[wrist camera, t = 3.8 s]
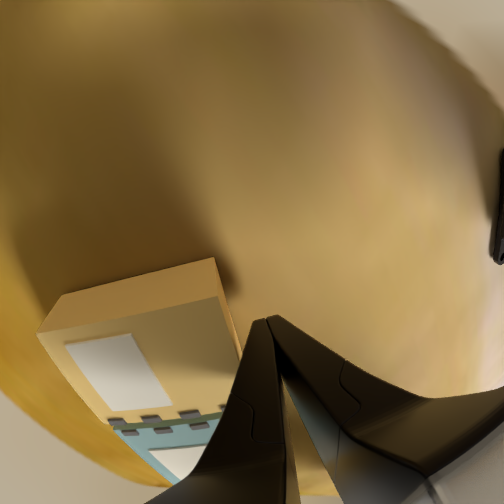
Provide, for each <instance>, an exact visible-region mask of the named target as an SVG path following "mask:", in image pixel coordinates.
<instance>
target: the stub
mask: <svg viewBox="0 0 504 504" xmlns="http://www.w3.org/2000/svg"><path fill="white" fill-rule="evenodd" d="M36 336H37V337H38V339H39V340H40V342H41V344H42V345H43V347H44V348H45V350H46V351H47V353H48V354H49V356H50V357H51V359H52V360H53V361H54V363H55V364H56V366H57V367H58V368H59V370H60V371H61V373H62V374H63V375H64V377H65V378H66V379H67V381H68V382H69V383H70V385H71V386H72V387H73V388H74V390H75V391H76V392H77V393H78V395H79V396H80V397H81V398H82V399H83V401H84V402H85V403H86V404H87V405H88V407H89V408H90V409H91V410H92V411H93V412H94V413H95V415H96V416H97V417H98V418H99V419H100V420H101V421H102V422H103V423H104V424H110V425H111V426H115V425H127V423H139V422H144V423H145V424H148V423H158V422H162V420H170V419H178V418H182V420H184V419H191V418H198V417H201V415H205V414H211V413H217V412H223V411H224V408H225V405H226V403H227V400H228V397H229V394H230V391H231V388H232V385H233V382H234V379H235V376H236V373H237V370H238V366H239V363H240V360H241V357H242V354H243V353H242V350H241V347H240V344H239V341H238V337H237V334H236V331H235V328H234V324H233V321H232V318H231V314H230V311H229V308H228V304H227V301H226V297H225V294H224V290H223V287H222V284H221V280H220V277H219V273H218V269H217V266H216V262H215V259H214V257H212V258H208V259H204V260H200V261H195V262H191V263H187V264H183V265H179V266H175V267H171V268H167V269H163V270H159V271H155V272H151V273H147V274H143V275H139V276H135V277H131V278H127V279H123V280H119V281H115V282H111V283H108V284H104V285H100V286H96V287H92V288H88V289H84V290H80V291H76V292H72V293H68V294H64V295H61V297H60V298H59V300H58V301H57V302H56V304H55V305H54V307H53V308H52V309H51V311H50V312H49V314H48V315H47V317H46V318H45V320H44V321H43V323H42V324H41V326H40V327H39V329H38V330H37V332H36Z"/></svg>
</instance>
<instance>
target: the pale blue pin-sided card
mask: <svg viewBox="0 0 504 504" xmlns="http://www.w3.org/2000/svg"><path fill="white" fill-rule="evenodd" d="M222 413H223V412H217V413H211V414H205V415H201V417H198V418H191V419H184V420H182V418H178V419H170V420H162V422H158V423H148V424H145V423H144V422H139V423H127V425H115V426H114V427H113V430H114V431H115V433H116V434H117V435H118V436H119V437H120V438H121V439H122V440H123V441H124V442H125V443H126V444H127V445H129V446H130V447H131V448H132V449H133V450H134V451H135V452H136V453H137V454H138V455H139V456H140V457H141V458H142V459H144V460H145V461H146V462H147V463H148V464H149V465H150V466H152V467H153V468H154V469H155V470H156V471H157V472H159V473H160V474H161V475H162V476H163V477H165V478H166V479H167V480H168V481H170V482H171V483H172V484H174V485H175V484H176V483H178V482H179V481H181V480H182V479H184V478H185V477H186V476H187V475H188V474H189V473H190V472H191V471H192V470H193V468H194V467H195V466H196V464H197V462H198V460H199V459H200V457H201V455H202V453H203V451H204V449H205V448H206V446H207V444H208V442H209V440H210V438H211V436H212V434H213V432H214V431H215V429H216V426H217V424H218V422H219V420H220V418H221V416H222Z"/></svg>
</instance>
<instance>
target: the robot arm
mask: <svg viewBox="0 0 504 504" xmlns="http://www.w3.org/2000/svg"><path fill="white" fill-rule="evenodd" d="M493 260H494V262H495V263H497V264H498V265H502V264H503V263H504V149H503V151H502V156H501V197H500V211H499V221H498V230H497V237H496V244H495V250H494V256H493ZM281 376H282V377H281ZM282 379H283V381H284V384H285V386H286V388H287V390H288V392H289V394H290V396H291V398H292V401H293V403H294V405H295V407H296V409H297V411H298V413H299V415H300V417H301V419H302V421H303V423H304V425H305V427H306V429H307V431H308V434H309V436H310V438H311V440H312V442H313V444H314V446H315V448H316V450H317V452H318V454H319V456H320V458H321V460H322V462H323V464H324V466H325V468H326V470H327V472H328V474H329V476H330V477H331V479H332V481H333V483H334V484H335V487H336V489H337V491H338V493H339V495H340V497H341V499H342V501H343V503H344V504H504V386H503V387H500V388H498V389H495V390H491V391H486V392H480V393H474V394H468V395H461V396H453V397H445V398H426V397H422V396H418V395H416V394H413V393H411V392H408V391H406V390H404V389H401V388H399V387H397V386H395V385H392V384H390V383H388V382H386V381H384V380H381V379H379V378H377V377H375V376H373V375H371V374H369V373H367V372H366V371H364V370H362V369H360V368H359V367H357V366H355V365H354V364H352V363H351V362H349V361H348V360H346V361H345V359H344V358H343V357H341V356H340V355H338V354H337V353H335V352H334V351H332V350H330V349H329V348H327V347H326V346H324V345H323V344H321V343H320V342H318V341H317V340H315V339H314V338H312V337H311V336H309V335H308V334H306V333H305V332H303V331H302V330H300V329H299V328H297V327H296V326H294V325H293V324H291V323H290V322H288V321H287V320H285V319H284V318H282V317H281V316H280V315H273V316H270V317H267V318H266V319H265V318H262V319H258V320H255V321H253V323H252V326H251V329H250V332H249V335H248V338H247V341H246V345H245V348H244V351H243V354H242V357H241V360H240V363H239V366H238V370H237V373H236V376H235V379H234V382H233V385H232V388H231V391H230V394H229V397H228V400H227V403H226V405H225V408H224V411H223V413H222V416H221V418H220V420H219V422H218V424H217V426H216V429H215V431H214V432H213V434H212V436H211V438H210V440H209V442H208V444H207V446H206V448H205V449H204V451H203V453H202V455H201V457H200V459H199V460H198V462H197V464H196V466H195V467H194V468H193V470H192V471H191V472H190V473H189V474H188V475H187V476H186V477H185V478H184V479H182V480H181V481H179V482H178V483H176V484H175V485H173V486H172V487H170V488H169V489H167V490H166V491H164V492H163V493H161V494H159V495H158V496H156V497H154V498H153V499H151V500H150V501H148V502H146V503H144V504H301V502H300V495H299V487H298V480H297V474H296V467H295V460H294V453H293V446H292V440H291V433H290V426H289V420H288V413H287V407H286V400H285V394H284V387H283V382H282Z"/></svg>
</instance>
